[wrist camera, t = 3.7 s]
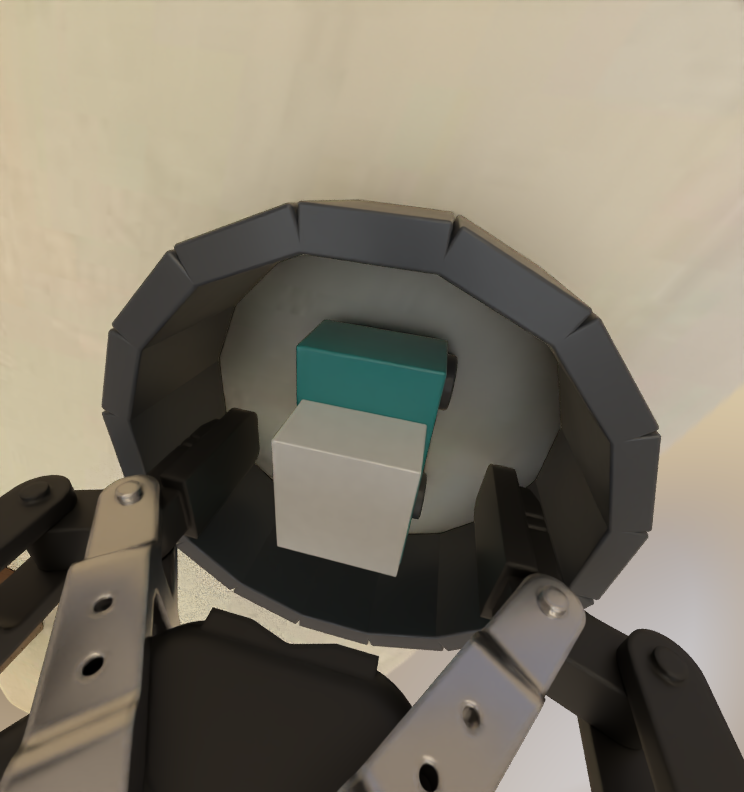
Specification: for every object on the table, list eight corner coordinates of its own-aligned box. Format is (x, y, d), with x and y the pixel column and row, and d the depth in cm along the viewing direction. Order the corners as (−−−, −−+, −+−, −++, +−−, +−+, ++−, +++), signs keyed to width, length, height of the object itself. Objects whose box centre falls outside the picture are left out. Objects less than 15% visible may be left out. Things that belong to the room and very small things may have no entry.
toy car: (320, 309, 12) (240, 375, 7) (461, 333, 11) (465, 420, 7) (315, 479, 16) (262, 587, 12) (418, 503, 15) (403, 627, 11)
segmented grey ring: (169, 175, 11) (11, 163, 7) (687, 241, 9) (860, 274, 5) (223, 505, 18) (162, 587, 14) (510, 577, 17) (526, 692, 13)
